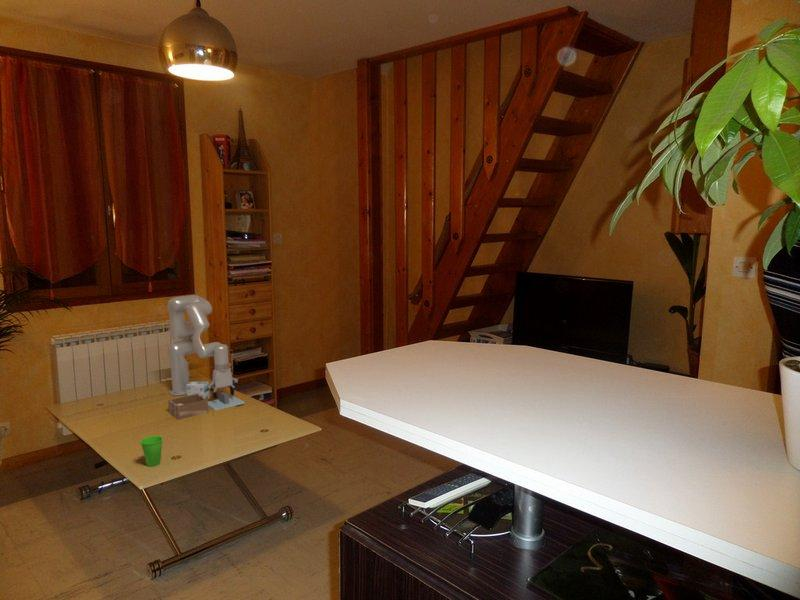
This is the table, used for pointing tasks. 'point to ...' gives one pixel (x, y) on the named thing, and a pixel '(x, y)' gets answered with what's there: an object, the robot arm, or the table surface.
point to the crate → (188, 406)
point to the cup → (152, 449)
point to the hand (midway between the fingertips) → (223, 396)
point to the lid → (224, 401)
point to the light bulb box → (198, 389)
